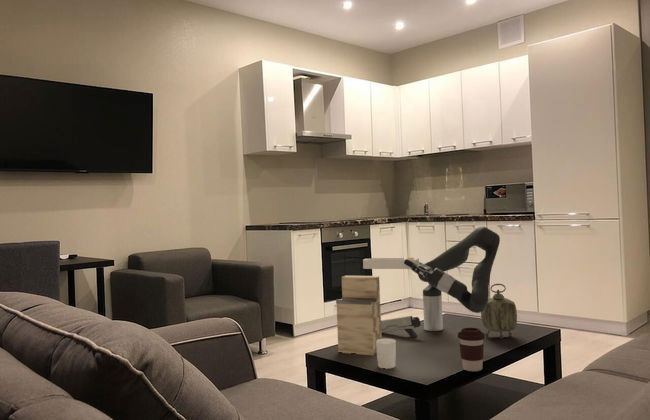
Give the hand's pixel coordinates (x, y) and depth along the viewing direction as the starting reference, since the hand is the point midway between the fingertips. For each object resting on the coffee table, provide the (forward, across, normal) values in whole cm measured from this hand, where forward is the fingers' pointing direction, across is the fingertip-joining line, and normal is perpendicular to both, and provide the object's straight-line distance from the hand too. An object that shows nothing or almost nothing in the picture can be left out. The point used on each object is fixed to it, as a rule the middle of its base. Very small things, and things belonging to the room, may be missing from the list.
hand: (406, 260), depth 228 cm
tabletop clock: (-49, -35, +18) cm, 62 cm away
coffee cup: (-44, +16, +20) cm, 51 cm away
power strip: (+5, 0, +6) cm, 8 cm away
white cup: (-17, +22, +36) cm, 46 cm away
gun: (-8, -28, +41) cm, 50 cm away
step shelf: (-1, +4, +45) cm, 45 cm away
